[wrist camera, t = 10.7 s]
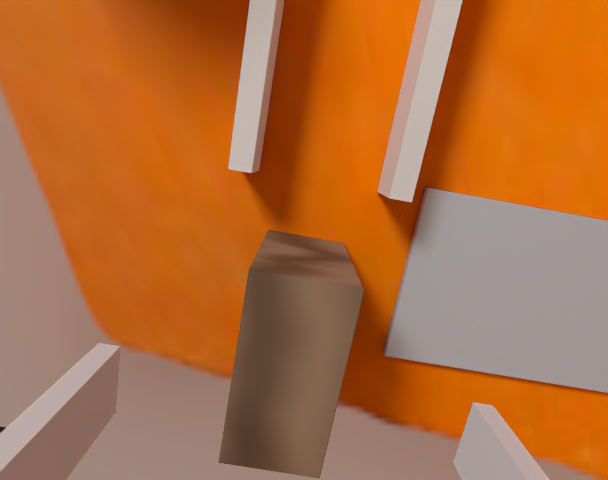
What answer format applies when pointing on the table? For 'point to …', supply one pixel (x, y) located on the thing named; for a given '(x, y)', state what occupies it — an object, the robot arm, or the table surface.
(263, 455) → the walnut block
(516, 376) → the mat
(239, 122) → the bay
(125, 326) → the table surface
